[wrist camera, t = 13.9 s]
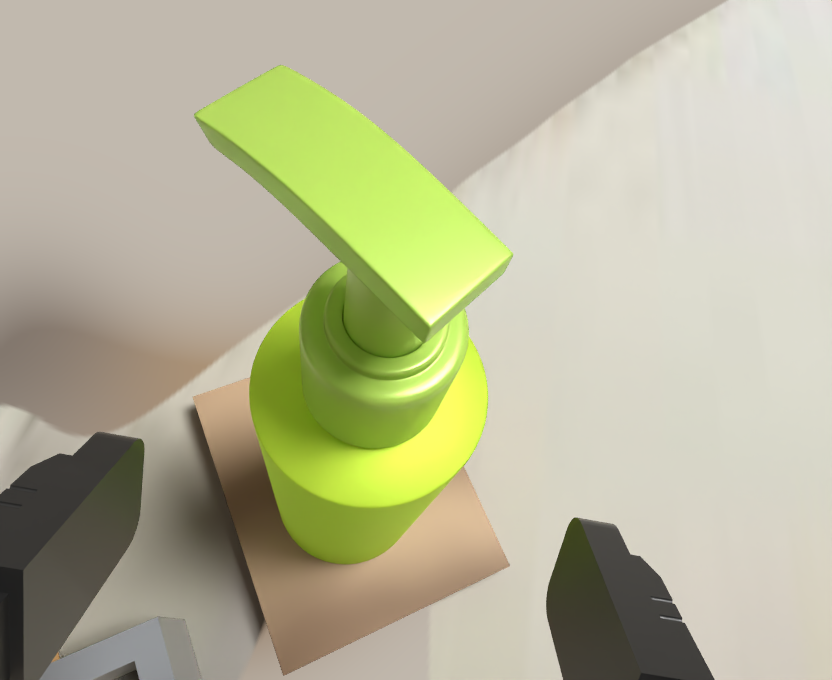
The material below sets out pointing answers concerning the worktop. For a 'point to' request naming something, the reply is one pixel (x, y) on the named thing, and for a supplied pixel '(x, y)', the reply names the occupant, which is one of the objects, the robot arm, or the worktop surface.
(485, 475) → the worktop surface
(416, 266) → the soap dispenser
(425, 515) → the light brown board
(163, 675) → the gray square frame
